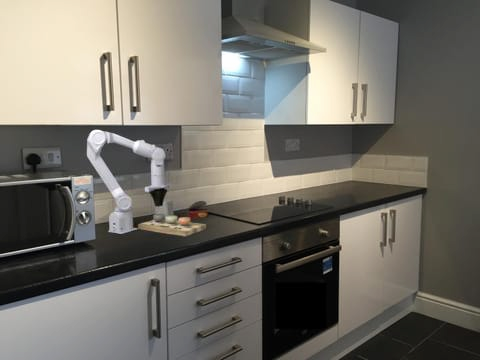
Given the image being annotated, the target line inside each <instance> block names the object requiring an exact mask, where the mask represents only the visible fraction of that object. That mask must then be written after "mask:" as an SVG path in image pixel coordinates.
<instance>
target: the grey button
mask: <svg viewBox="0 0 480 360" xmlns="http://www.w3.org/2000/svg"><path fill="white" fill-rule="evenodd" d="M152 217H153V219H152V220H155V221H162V220H165V214H153V215H152Z"/></svg>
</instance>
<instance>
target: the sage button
mask: <svg viewBox="0 0 480 360" xmlns="http://www.w3.org/2000/svg"><path fill="white" fill-rule="evenodd" d="M177 221H179V218H178V215H174V214H173V215H172V216H166V222H169V223H173V222H177Z"/></svg>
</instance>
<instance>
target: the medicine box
mask: <svg viewBox="0 0 480 360" xmlns="http://www.w3.org/2000/svg"><path fill="white" fill-rule="evenodd" d="M173 202H174V201H173V200H172V199H166V198H164V201H163V206H160V207H157V206H155V205H154V208H155V209H154V211H155V214H165V219H166V216H172V215H173V216H174V203H173ZM155 214H154V215H155Z"/></svg>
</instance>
